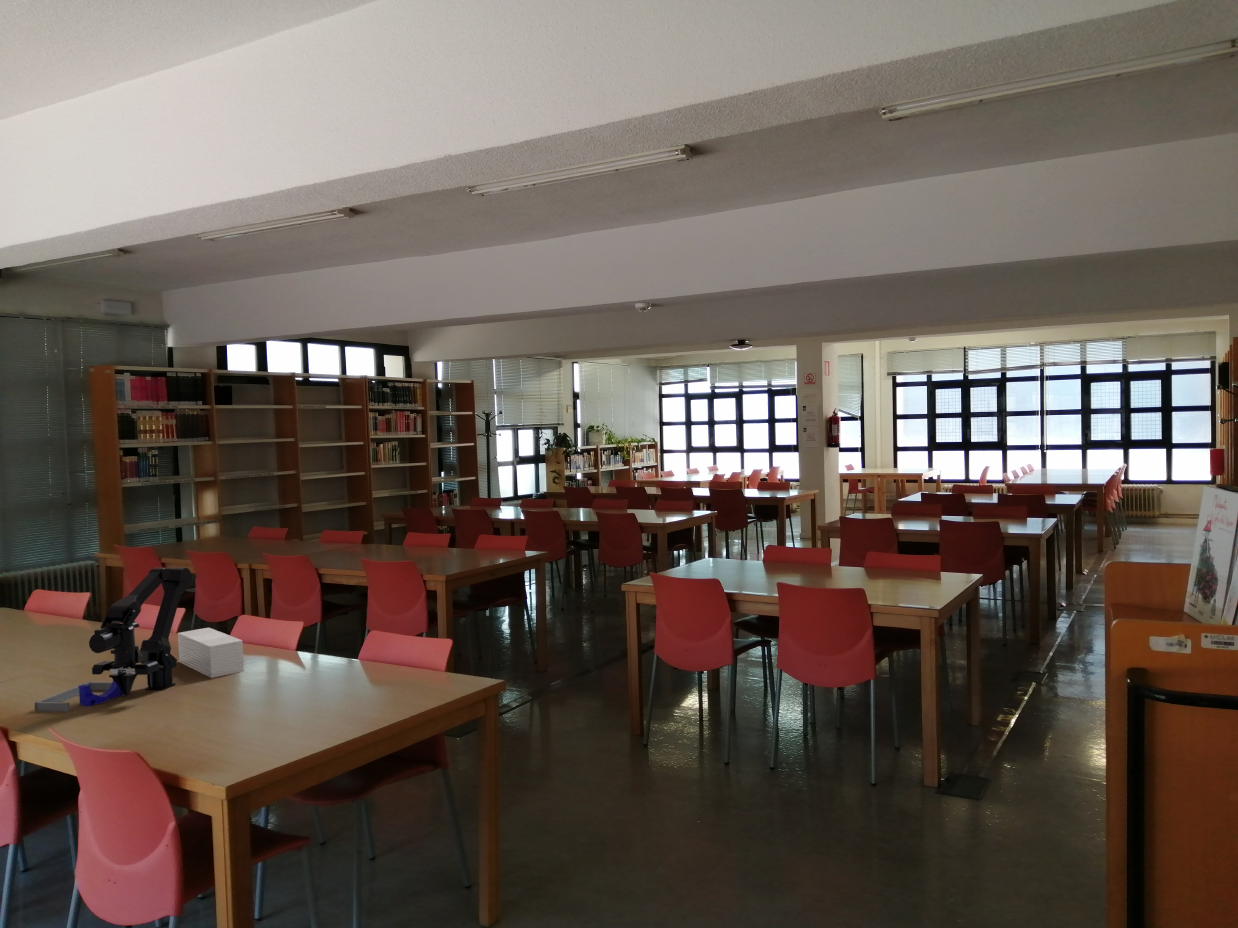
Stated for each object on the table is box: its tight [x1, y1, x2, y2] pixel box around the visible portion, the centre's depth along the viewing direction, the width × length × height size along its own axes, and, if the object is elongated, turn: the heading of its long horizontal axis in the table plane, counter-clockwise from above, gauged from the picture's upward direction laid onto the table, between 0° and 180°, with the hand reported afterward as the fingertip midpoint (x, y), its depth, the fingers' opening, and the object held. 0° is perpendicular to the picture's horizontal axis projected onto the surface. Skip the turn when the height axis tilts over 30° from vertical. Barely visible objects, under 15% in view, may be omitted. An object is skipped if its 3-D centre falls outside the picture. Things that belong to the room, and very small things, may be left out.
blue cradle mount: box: [78, 679, 124, 707], centre depth 269 cm, size 12×4×6 cm, turn 151°
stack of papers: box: [177, 627, 245, 679], centre depth 305 cm, size 32×11×11 cm, turn 44°
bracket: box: [34, 681, 113, 713], centre depth 269 cm, size 11×22×2 cm, turn 172°
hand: (127, 695), depth 267 cm, fingers closed
